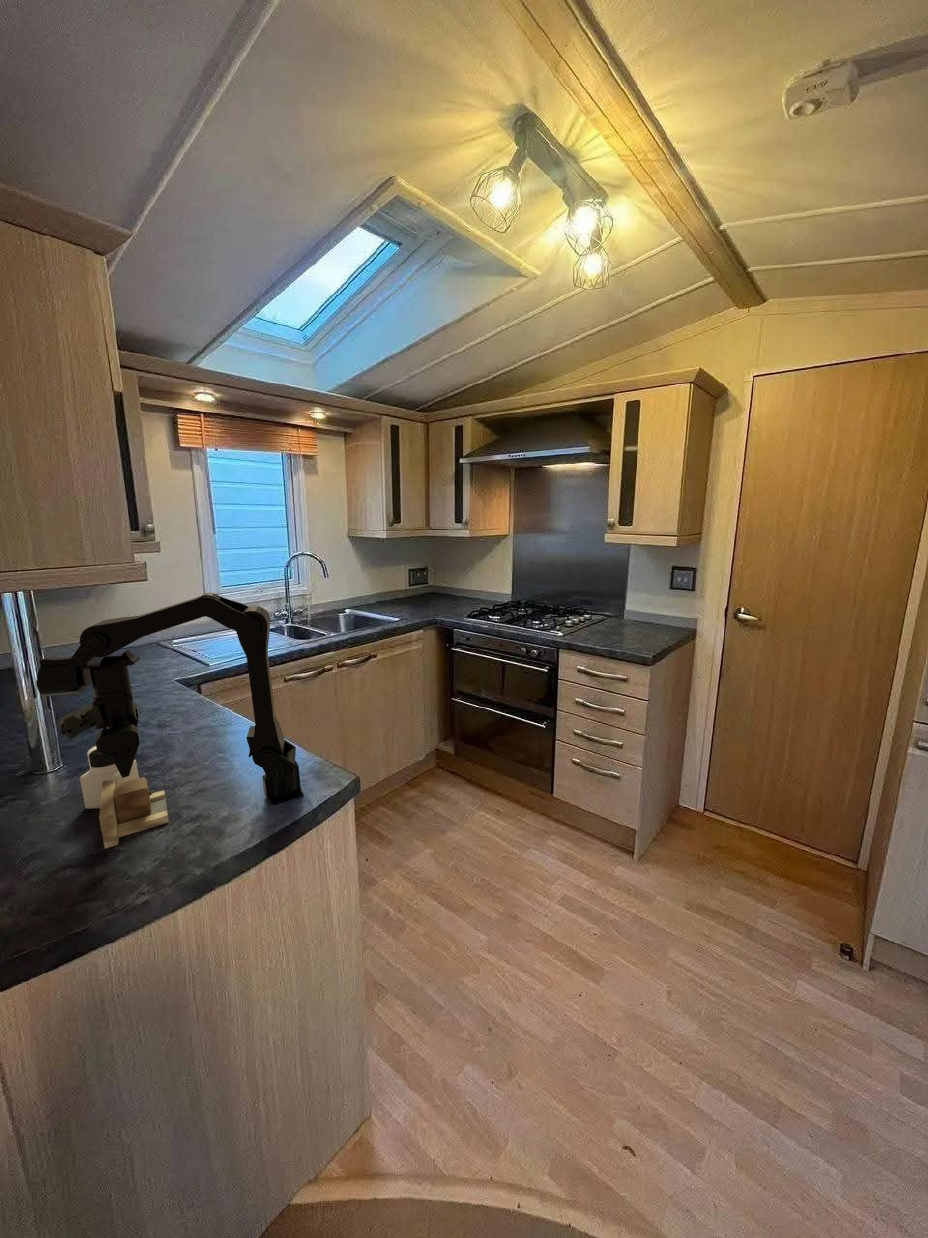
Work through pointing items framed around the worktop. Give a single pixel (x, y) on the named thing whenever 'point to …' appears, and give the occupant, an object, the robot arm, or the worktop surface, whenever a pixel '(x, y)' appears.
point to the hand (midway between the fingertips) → (125, 766)
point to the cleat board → (116, 830)
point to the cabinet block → (132, 800)
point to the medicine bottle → (101, 777)
